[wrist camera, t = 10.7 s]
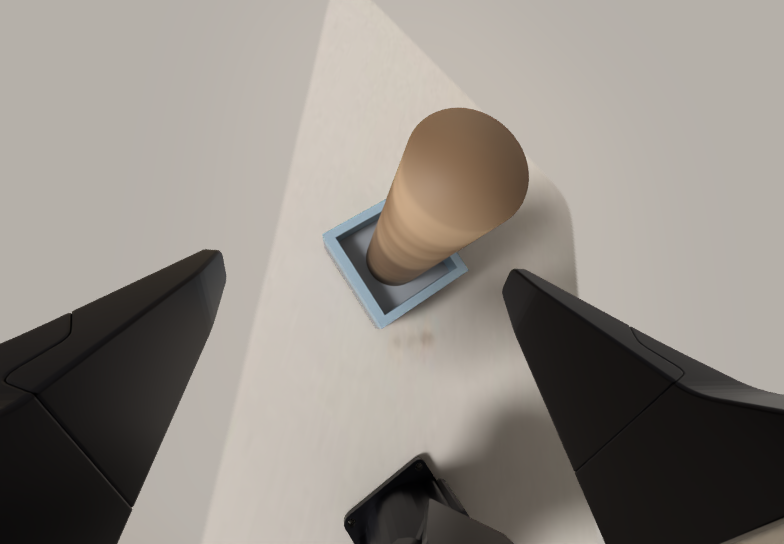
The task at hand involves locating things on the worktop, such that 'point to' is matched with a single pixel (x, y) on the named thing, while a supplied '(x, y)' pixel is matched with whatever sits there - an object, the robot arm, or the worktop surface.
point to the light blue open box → (374, 296)
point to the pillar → (446, 193)
